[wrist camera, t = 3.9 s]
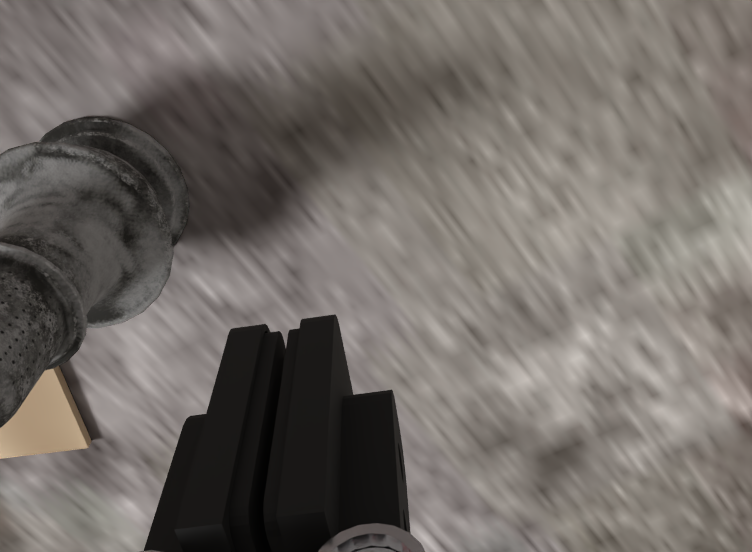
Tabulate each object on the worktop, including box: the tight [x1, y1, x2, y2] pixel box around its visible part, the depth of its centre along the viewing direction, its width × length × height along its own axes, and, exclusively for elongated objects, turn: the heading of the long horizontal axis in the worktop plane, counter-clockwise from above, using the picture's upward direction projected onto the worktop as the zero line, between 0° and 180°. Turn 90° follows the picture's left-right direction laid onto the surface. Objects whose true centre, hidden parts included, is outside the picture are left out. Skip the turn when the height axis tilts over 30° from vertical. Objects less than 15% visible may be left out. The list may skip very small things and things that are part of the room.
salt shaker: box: [0, 117, 189, 428], centre depth 18 cm, size 6×6×12 cm
